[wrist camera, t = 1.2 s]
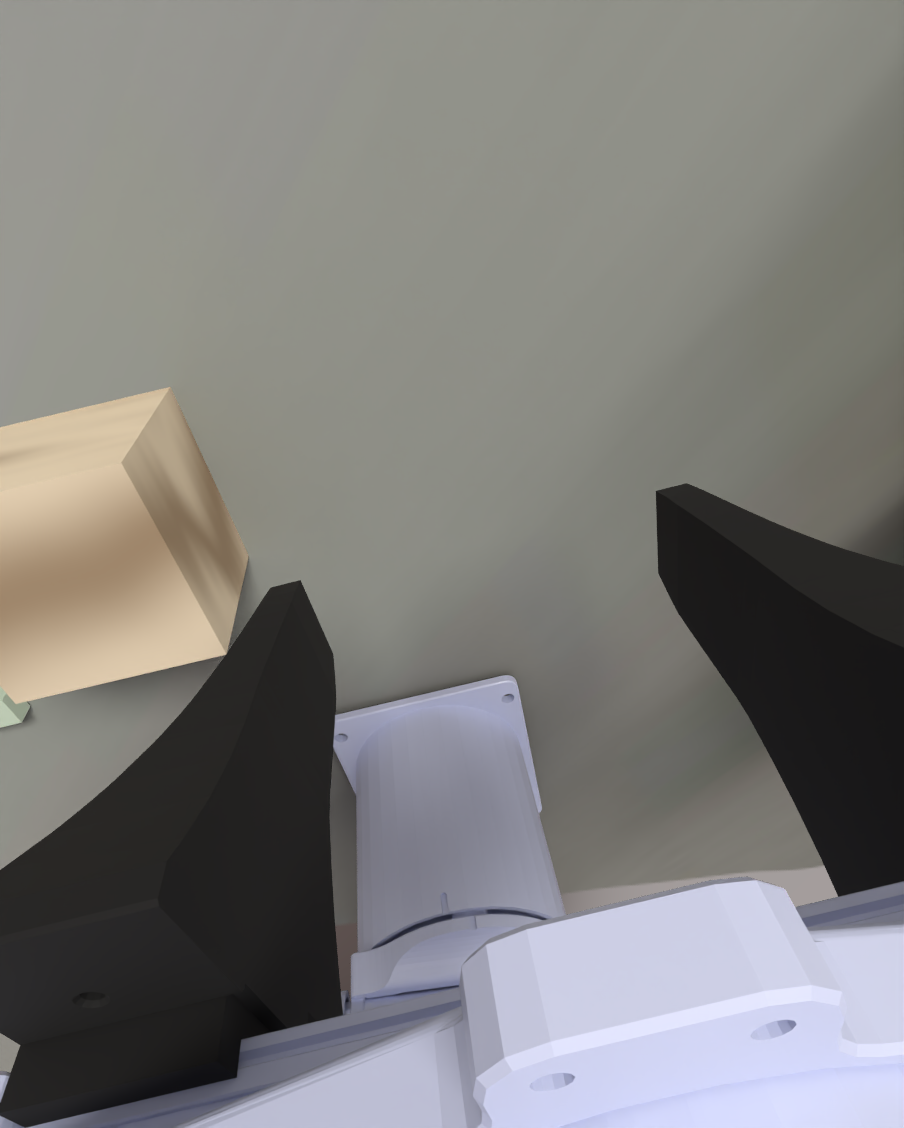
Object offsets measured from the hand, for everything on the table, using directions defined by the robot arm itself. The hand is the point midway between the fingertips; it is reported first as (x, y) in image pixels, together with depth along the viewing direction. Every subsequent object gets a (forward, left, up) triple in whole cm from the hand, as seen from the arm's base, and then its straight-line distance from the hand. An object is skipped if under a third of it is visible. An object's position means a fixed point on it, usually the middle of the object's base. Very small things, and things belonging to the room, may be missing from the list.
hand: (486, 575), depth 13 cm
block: (0, +10, -9) cm, 13 cm away
